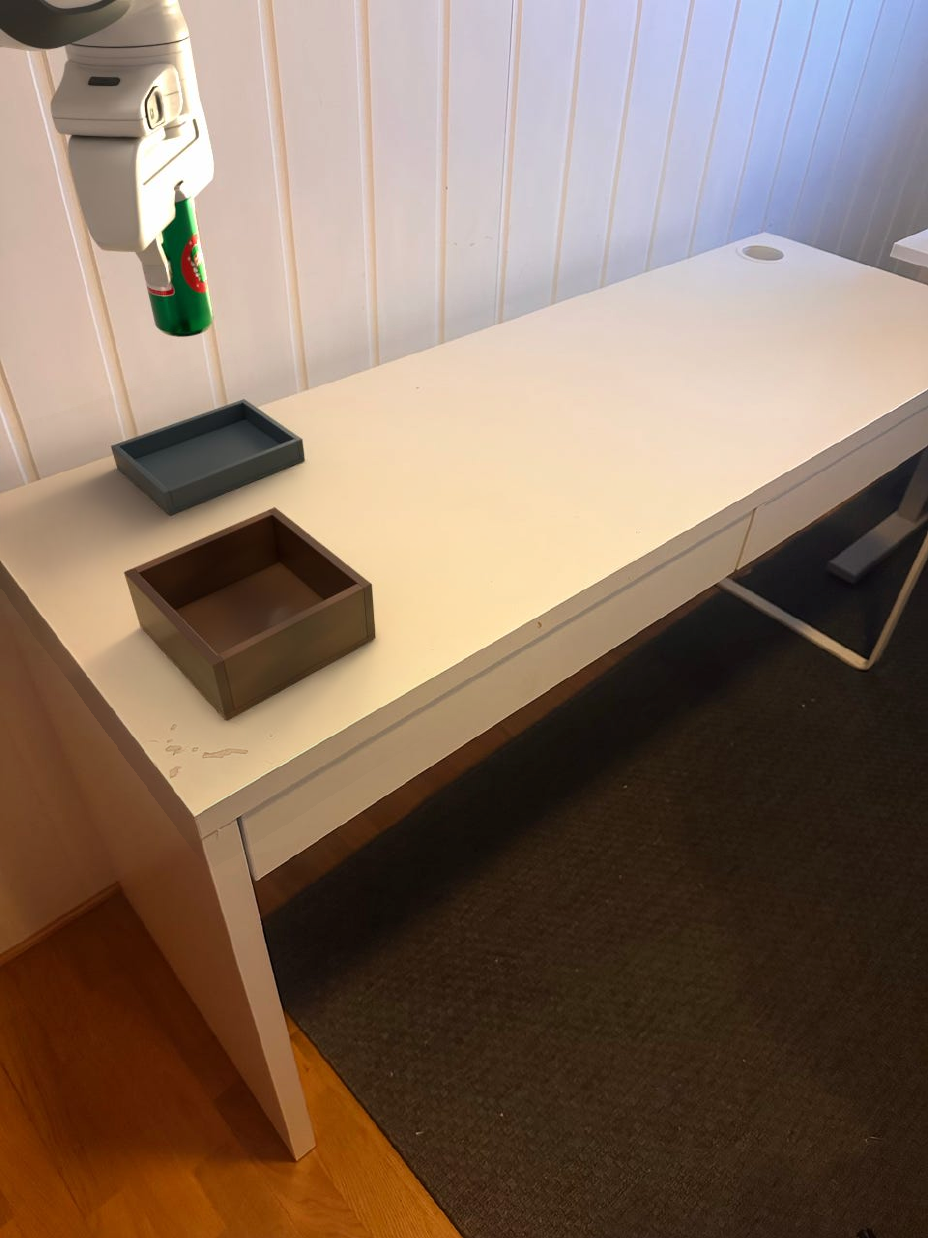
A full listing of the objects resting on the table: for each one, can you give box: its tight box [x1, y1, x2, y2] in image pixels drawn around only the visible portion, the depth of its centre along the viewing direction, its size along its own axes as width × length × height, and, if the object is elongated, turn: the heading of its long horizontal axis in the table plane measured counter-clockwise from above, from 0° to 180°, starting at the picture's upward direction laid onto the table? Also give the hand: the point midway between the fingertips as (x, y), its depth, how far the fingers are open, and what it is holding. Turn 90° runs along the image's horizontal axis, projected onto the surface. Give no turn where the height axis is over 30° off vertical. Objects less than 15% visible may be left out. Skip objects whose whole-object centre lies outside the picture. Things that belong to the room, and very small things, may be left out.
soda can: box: [141, 179, 215, 338], centre depth 75 cm, size 5×5×12 cm
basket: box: [123, 506, 377, 721], centre depth 70 cm, size 14×14×6 cm
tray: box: [110, 398, 306, 516], centre depth 90 cm, size 15×11×2 cm
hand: (173, 269), depth 76 cm, fingers closed on soda can, 5 cm apart
